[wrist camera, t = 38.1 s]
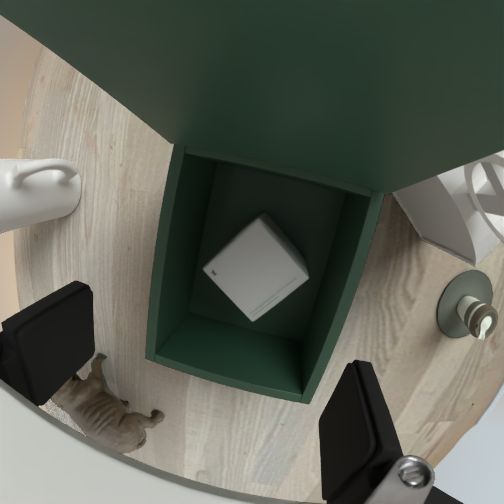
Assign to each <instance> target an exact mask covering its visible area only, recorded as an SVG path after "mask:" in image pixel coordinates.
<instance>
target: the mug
mask: <svg viewBox="0 0 504 504" xmlns="http://www.w3.org/2000/svg"><path fill="white" fill-rule="evenodd" d="M80 196H81V179H80V175H79V173H78V169H77V165H76V164H74V163H72V162H70V161H68V160H64V159H43V160H31V159H0V233H4V232H7V231H10V230H14V229H18V228H21V227H25V226H29V225H32V224H36V223H40V222H44V221H48V220H52V219H56V218H60V217H63V216H67V215H69V214H70V213H72V212H73V211H74V210H75V208H76V207H77V205H78V203H79V200H80Z"/></svg>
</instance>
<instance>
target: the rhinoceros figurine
mask: <svg viewBox="0 0 504 504" xmlns="http://www.w3.org/2000/svg"><path fill="white" fill-rule="evenodd" d="M96 356H98V357H96V358H95V359H94V360H93V362H92V364H91V369H92V372H90V373H89V376H88V378H87V379H86V380H84V381H83V380H82V379H80V378H79V376H78V375H77V374H76V373H75V374H74V375H73V376H72V377H71V378H70V379H69V380H68V381H67V382H66V383H65V384H64V385H63V386H62V387H61V388H60V389H59V390H58V391H57V392H56V393H55V394H54V395H53V396H52V397H51V400H52V401H53V402H54V403H55V404H56V405H57V406H58V408H59V407H60V408H61V409H62V410H63V411H65V412H66V413H68V414H69V415H70V417H71V418H72V419H73V420H74V421H75V422H76V424H77V425H78V426H79V427H80V428H81V430H82V431H83V432H84V433H85V435H86V436H87V437H89V438H90V439H92V440H94V441H96V442H98V443H100V444H102V445H104V446H106V447H108V448H110V449H112V450H114V451H117V452H119V453H129V452H131V451H134V450H136V449H139V448H141V447H142V446H143V445H144V444H145V442H146V432H145V429H144V428H145V427H150V428H154V427H155V426H156V425H157V423H159V422H161V421H163V419H164V414H163V413H162V412H160V411H158V410H155V409H154V410H153V411H152V412H151V414H152V417H151V418H149V417H146V416H145V415H143V414H141V413H137V412H133V411H131V410H130V408H129V407H128V406H129V403H128V401H125V402H123V401H122V400H119V399H118V398H117V397H116V396H115V395H114V394H113V393H112V392H111V391H110V390H109V388H108V387H107V384H106V381H105V378H104V376H103V374H102V371H101V362H102V361H103V360H104V359H105V358H107V357H106V356H105V355H102V354H101V353H98V355H96ZM124 404H125V405H126V406H125V405H124Z"/></svg>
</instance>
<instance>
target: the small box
mask: <svg viewBox="0 0 504 504" xmlns="http://www.w3.org/2000/svg"><path fill="white" fill-rule="evenodd" d="M203 270H204V271H205V272H206V273H207V275H208V276H209V277H210V278H211V279H212V280H213V281H214V282H215V283H216V284H217V285H218V286H219V288H220V289H221V290H222V291H223V292H224V293H225V294H226V295H227V296H228V297H229V298H230V299H231V300H232V301H233V302H234V303H235V304H236V306H237V307H238V308H239V309H240V310H241V311H242V312H243V313H244V314H245V315H246V316H247V317H248V318H249V319H250V320H251V321H255V320H256V319H258V318H259V317H261V316H262V315H263V314H265V313H266V312H267V311H269V310H270V309H271V308H273V307H274V306H275V305H276V304H278V303H279V302H280V301H282V300H283V299H284V298H285V297H287V296H288V295H289V294H290V293H292V292H293V291H294V290H295V289H297V288H298V287H299V286H300V285H302V284H303V283H304V282H305V281H306V280H308V279H309V274H308V269H307V263H306V260H305V258H304V257H303V256H302V255H301V253H300V252H299V251H298V250H297V248H296V247H295V246H294V245H293V243H292V242H291V241H290V240H289V239H288V237H287V236H286V235H285V234H284V233H283V231H282V230H281V229H280V228H279V227H278V225H277V224H276V223H275V222H274V221H273V220H272V218H271V217H270V216H269V215H268V214H267V213H266V212H263V213H261V214H260V215H259V216H257V217H256V218H255V219H254V220H252V221H251V222H250V223H249V224H247V225H246V226H245V227H244V228H243V229H242V230H241V231H239V232H238V233H237V234H236V235H235V236H234V237H233V238H232V239H231V240H230V241H228V242H227V243H226V244H225V245H224V246H223V247H222V248H221V249H220V250H219V251H218V252H217V253H216V254H215V256H214V257H213V258H212V259H211V260H210V261H209V262H208V263H207V264H206V265H205V266H204V267H203Z"/></svg>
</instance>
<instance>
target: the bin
mask: <svg viewBox="0 0 504 504" xmlns="http://www.w3.org/2000/svg"><path fill="white" fill-rule="evenodd" d="M383 199H384V193H381V192H378V191H375V190H372V189H369V188H366V187H362V186H359V185H356V184H353V183H349V182H346V181H342V180H339V179H335V178H332V177H328V176H325V175H321V174H317V173H313V172H310V171H306V170H302V169H298V168H294V167H290V166H285V165H281V164H277V163H273V162H268V161H264V160H259V159H255V158H250V157H245V156H240V155H235V154H230V153H225V152H220V151H214V150H208V149H203V148H197V147H191V146H184V145H178V144H174V147H173V152H172V156H171V161H170V166H169V170H168V175H167V181H166V186H165V191H164V197H163V202H162V208H161V214H160V220H159V226H158V233H157V240H156V247H155V254H154V262H153V270H152V279H151V288H150V298H149V310H148V322H147V337H146V355H145V358H146V359H148V360H150V361H153V362H156V363H158V364H161V365H164V366H167V367H170V368H172V369H175V370H178V371H181V372H184V373H187V374H190V375H193V376H196V377H200V378H203V379H206V380H209V381H213V382H216V383H219V384H223V385H226V386H230V387H234V388H237V389H241V390H245V391H249V392H253V393H257V394H261V395H266V396H270V397H274V398H279V399H284V400H289V401H294V402H300V403H304V404H310V402H311V400H312V398H313V395H314V393H315V391H316V389H317V387H318V385H319V383H320V380H321V378H322V376H323V374H324V371H325V369H326V367H327V364H328V362H329V360H330V357H331V355H332V353H333V350H334V348H335V345H336V343H337V341H338V338H339V336H340V333H341V330H342V328H343V325H344V323H345V320H346V317H347V315H348V312H349V309H350V307H351V304H352V301H353V298H354V295H355V293H356V290H357V287H358V284H359V281H360V278H361V275H362V272H363V269H364V266H365V262H366V259H367V256H368V253H369V249H370V246H371V243H372V239H373V236H374V232H375V229H376V225H377V222H378V218H379V214H380V210H381V206H382V203H383ZM263 212H266V213H267V214H268V215H269V216H270V217H271V218H272V220H273V221H274V222H275V223H276V224H277V225H278V227H279V228H280V229H281V230H282V231H283V233H284V234H285V235H286V236H287V237H288V239H289V240H290V241H291V242H292V243H293V245H294V246H295V247H296V248H297V250H298V251H299V252H300V253H301V255H302V256H303V257H304V258H305V260H306V263H307V269H308V274H309V279H308V280H306V281H305V282H304V283H303V284H302V285H300V286H299V287H298V288H297V289H295V290H294V291H293V292H292V293H290V294H289V295H288V296H287V297H285V298H284V299H283V300H282V301H280V302H279V303H278V304H276V305H275V306H274V307H273V308H271V309H270V310H269V311H267V312H266V313H265V314H263V315H262V316H261V317H259V318H258V319H256V320H255V321H251V320H250V319H249V318H248V317H247V316H246V315H245V314H244V313H243V312H242V311H241V310H240V309H239V308H238V307H237V306H236V304H235V303H234V302H233V301H232V300H231V299H230V298H229V297H228V296H227V295H226V294H225V293H224V292H223V291H222V290H221V289H220V288H219V286H218V285H217V284H216V283H215V282H214V281H213V280H212V279H211V278H210V277H209V276H208V275H207V273H206V272H205V271H204V270H203V267H204V266H205V265H206V264H207V263H208V262H209V261H210V260H211V259H212V258H213V257H214V256H215V254H216V253H217V252H218V251H219V250H220V249H221V248H222V247H223V246H224V245H225V244H226V243H227V242H228V241H230V240H231V239H232V238H233V237H234V236H235V235H236V234H237V233H238V232H239V231H241V230H242V229H243V228H244V227H245V226H246V225H247V224H249V223H250V222H251V221H252V220H254V219H255V218H256V217H257V216H259V215H260V214H261V213H263Z"/></svg>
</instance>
